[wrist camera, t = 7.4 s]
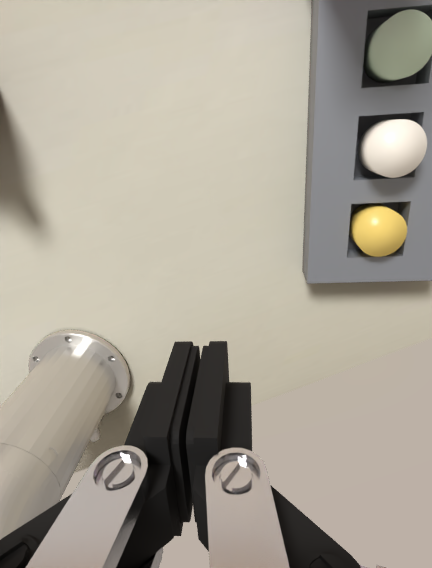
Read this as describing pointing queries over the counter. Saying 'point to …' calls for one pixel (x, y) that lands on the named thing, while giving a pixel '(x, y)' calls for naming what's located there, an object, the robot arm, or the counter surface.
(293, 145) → the counter surface
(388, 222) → the mustard button
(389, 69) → the sage button
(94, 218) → the counter surface
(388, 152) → the ivory button
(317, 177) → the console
